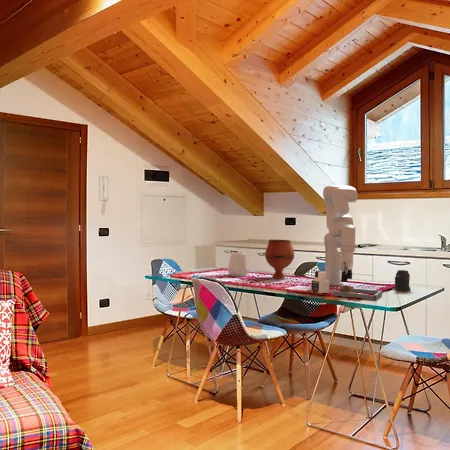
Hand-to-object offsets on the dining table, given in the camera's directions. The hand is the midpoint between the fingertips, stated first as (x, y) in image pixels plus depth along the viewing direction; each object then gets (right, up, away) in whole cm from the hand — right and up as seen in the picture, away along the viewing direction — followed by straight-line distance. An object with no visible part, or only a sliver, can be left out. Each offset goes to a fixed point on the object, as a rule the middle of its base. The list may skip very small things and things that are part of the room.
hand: (346, 280), depth 269 cm
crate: (0, -8, 0) cm, 8 cm away
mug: (+35, -8, +17) cm, 40 cm away
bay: (+5, -8, -3) cm, 10 cm away
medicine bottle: (-13, -8, +4) cm, 16 cm away
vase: (-57, -5, +67) cm, 88 cm away
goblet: (-30, -5, +60) cm, 67 cm away
